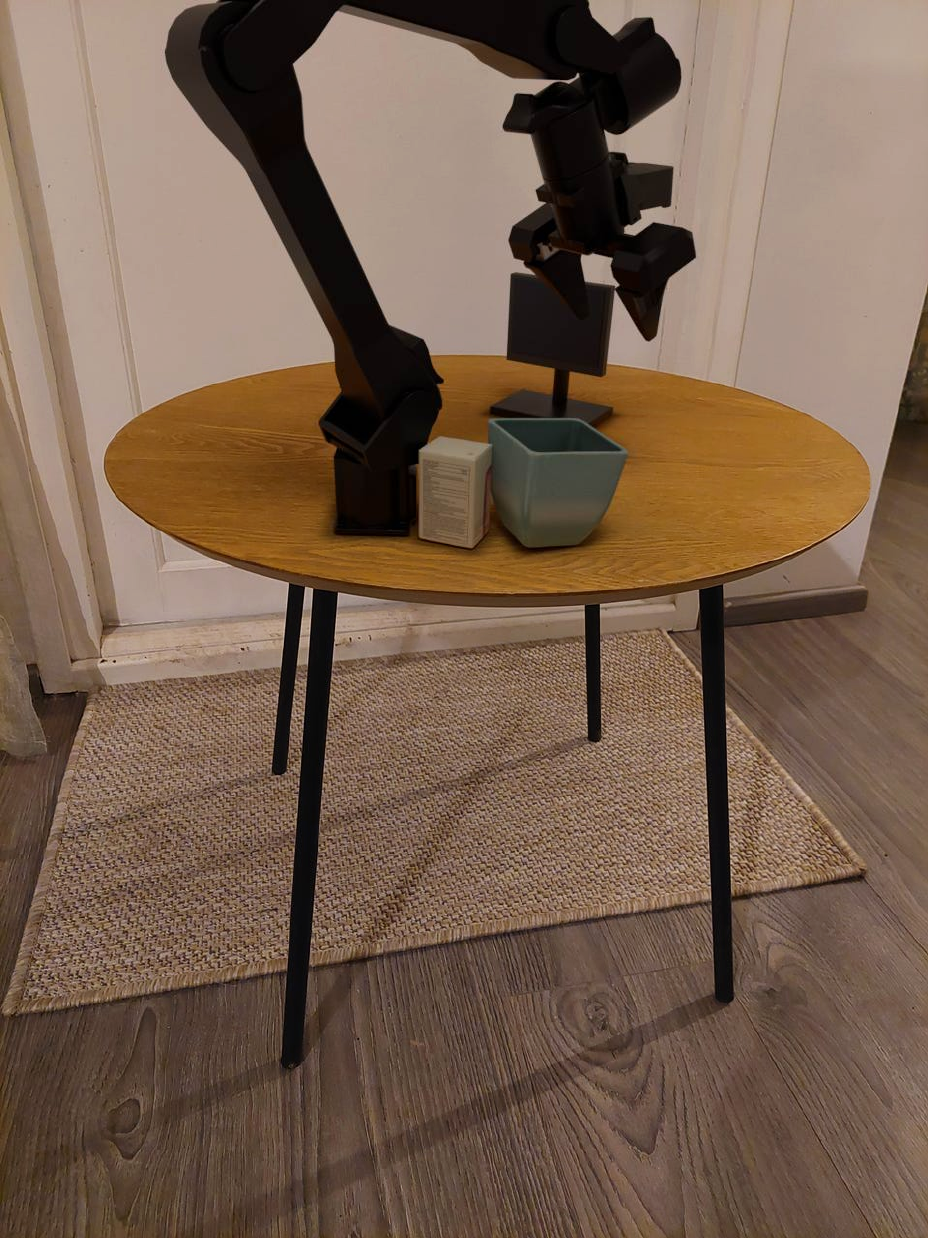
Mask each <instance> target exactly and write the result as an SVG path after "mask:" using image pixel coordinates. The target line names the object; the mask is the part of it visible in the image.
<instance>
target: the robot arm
mask: <svg viewBox="0 0 928 1238" xmlns="http://www.w3.org/2000/svg"><path fill="white" fill-rule="evenodd" d="M337 12H340V13H342V14H347V15H350V16H355V17H358V18H361V19H365V20H369V21H372V22H376V23H378V24H383V25H386V26H391V27H393V28H398V29H401V30H404V31H408V32H412V33H416V34H419V35H423V36H426V37H430V38H433V39H438V40H442V41H445V42H449V43H451V44H455V45H458V46H459V47H461V48H463V49H465V50H466V51H468V52H470V53H471V54H472V55H473V56H474V57H475V58H476V59H477V60H478V61H479V62H481V63H482V64H484V65H486V66H488V67H489V68H491V69H493V70H495V71H497V72H499V73H501V74H503V75H505V76H506V77H508V78H511V79H515V80H516V79H517V80H538V81H539V80H540V81H554V82H552V83H550V84H548V85H547V86H545V88H543V89H541V90H540V91H538V92H536V93H535V94H533V93H522V92H516V93H515V94H514V95H513V100H512V103H511V106H510V109H509V110H508V112H507V113H506V115H505V118H504V120H503V123H502V126H501V127H502V131H504V132H505V133H511V134H512V133H513V134H522V135H530V138H531V142H532V145H533V149H534V152H535V157H536V161H537V163H538V167H539V171H540V173H541V178H542V181H543V184H542V185H540V186H539V187H537V188H536V189H535V190H534V191H535V194H536V197H537V198H536V199H537V201H538V202H540V203H543V204H542V205H541V206H539V207H538V208H536V209H535V210H533V211H532V212H530V213H529V214H528V215H526V216H525V217H523V218H521V219H520V220H519V221H517V222H516V223H515V224H513V225H512V227H511V230H510V232H509V236H508V239H507V241H508V245H509V247H510V251H511V254H512V257H513V259H514V260H519V261H521V262H523V263H522V264H523V265H524V267H525V268H526V269H528V270H530V271H531V272H532V273H533V275H536V276H537V277H538V278H539V279H540V280H541V281H543V282H544V283H545V284H546V285H547V286H548V287H549V288H550V289H551V290H552V291H553V292H554V293H555V294H556V295H557V296H558V297H559V298H560V299H561V301H562V302H563V303H564V304H565V305H566V306H567V307H568V308H569V309H570V310H571V311H572V312H573V313H574V314H575V315H576V316H577V317H578V318H579V319H580V320H585V319H586V318H588V317H589V316H590V308H589V300H588V294H587V289H586V284H585V282H586V280H585V273H584V269H583V266H582V265H583V264H582V256H587V257H588V256H591V255H592V254H593V255H597V256H601V257H606V258H609V259H611V261H610V262H611V263H610V265H609V267H610V271H611V275H612V278H613V279H614V280H615V282H616V283H617V284H618V286H615V294H617V296H618V298H619V300H620V301H621V303H622V305H623V307H624V308H625V310H626V311H627V314H628V315H629V317H630V318H631V320H632V322H633V323H634V325H635V327H636V329H637V330H638V333H640V335H641V336H642V338H643V339H644V341H646V342H651V341H653V340H654V339H655V338H656V337H657V335H658V331H659V326H660V325H659V324H660V319H661V313H662V306H663V302H664V301H663V300H664V297H665V296H664V295H665V292H666V289H667V285H668V282H669V280H670V278H671V277H673V276H674V275H675V274H676V273H679V271H681V270H682V269H683V268H684V267H686V266H687V265H689V264H690V263H692V261H694V260H695V259H697V250H696V245H695V244H696V243H695V240H694V239H695V238H694V233H693V232H692V231H691V230H688V229H687V228H684V227H682V226H677V225H671V224H666V223H660V222H657V221H656V222H655V221H653V222H651V223H650V224H648V225H647V226H646V227H644V228H643V229H642V230H640V231H639V232H637V233H636V234H635V235H634V234H631V233H630V234H629V233H626V230H625V228H626V227H628V226H634V225H635V224H636V223H638V222H639V221H641V220H642V219H643V217H642V213H641V212H642V211H645V210H651V209H655V208H662V209H668V208H670V207H671V206H672V198H673V197H672V196H673V185H674V183H673V182H674V170H675V167H674V166H673V165H666V164H665V165H664V164H658V163H649V162H633V161H632V162H631V161H629V159H628V156H627V154H626V153H625V152H620V151H610V150H609V145H608V141H607V137H606V133H605V132H607V133H608V134H610V135H611V134H612V135H614V136H619V135H623V134H625V133H626V132H627V131H629V130H630V129H632V128H633V127H635V126H636V125H638V124H640V123H641V122H642V121H644V120H645V119H647V118H648V117H650V116H651V115H652V114H654V113H655V112H657V111H658V110H660V109H661V108H662V107H663V106H665V105H666V104H668V103H670V102H671V101H672V100H674V99H675V98H676V96H677V95H678V93H679V92H680V89H681V84H682V67H681V61H680V59H679V58H678V57H677V56H676V53H675V52H674V49H673V48H672V46H671V45H670V43H669V42H668V41H667V39H666V38H664V37H663V36H662V35H661V34H659V33H658V32H657V31H656V28H655V20H654V18H653V17H652V16H647V17H645V16H644V17H634V18H631V20H629V21H628V22H627V23H625V24H624V25H623V26H622V27H621V28H620V29H619V30H618V31H617V32H616V33H613V35H612V33H610V32H609V31H608V30H607V29H606V28H605V27H604V26H603V25H602V24H601V23H600V22H598V20H597V19H595V17H593V15H592V12H591V9H590V1H589V0H217V1H216V2H211V3H201V4H196V5H193V6H190V7H188V8H185V9H183V11H181V12H180V13H179V14H178V15H177V16H176V17H175V18H174V20H173V22H172V24H171V26H170V28H169V29H168V33H167V39H166V40H167V41H166V45H165V49H164V56H165V63H166V67H167V68H168V71H169V75H170V77H171V79H172V81H173V82H174V84H175V85H176V88H177V89H178V90H179V91H180V93H181V94H182V95H183V96H184V98H185V100H186V101H187V102H188V104H189V105H190V106H191V108H192V109H193V110H194V112H195V113H196V114H197V116H198V117H199V119H200V120H201V122H203V124H204V125H205V126H206V127H207V129H208V130H209V131H210V132H211V134H213V135H214V136H215V137H216V139H217V140H218V141H219V142H220V143H221V144H222V145H223V146H224V147H225V148H226V150H227V151H228V152H229V153H230V154H231V155H232V156H233V157H234V158H235V159H236V160H237V162H238V163H239V164H240V165H241V166H242V168H243V169H244V171H245V172H246V174H247V176H248V179H249V180H250V182H251V184H252V186H253V188H254V190H255V192H256V194H257V196H258V197H259V200H260V202H261V204H262V206H263V208H264V209H265V211H266V213H267V215H268V217H269V219H270V221H271V223H272V226H273V228H274V229H275V231H276V233H277V235H278V237H279V239H280V240H281V243H282V245H283V247H284V249H285V250H286V252H287V254H288V256H289V259H290V260H291V262H292V264H293V266H294V268H295V270H296V272H297V274H298V276H299V277H300V280H301V281H302V283H303V286H304V287H305V290H306V291H307V293H308V295H309V297H310V299H311V301H312V303H313V305H314V307H315V309H316V311H317V313H318V315H319V316H320V318H321V320H322V322H323V324H324V327H325V329H326V330H327V332H328V334H329V336H330V338H331V342H332V344H333V353H334V354H333V355H334V357H333V358H334V372H335V375H336V378H337V383H338V385H339V388H340V392H339V393H338V395H337V396H336V397H335V399H334V400H333V401H332V403H331V404H329V406H328V408H327V409H326V410H325V412H324V413H323V414H322V415H321V417H320V418H319V420H318V427H319V429H320V432H321V435H322V436H323V438H324V441H325V442H326V443H327V444H329V445H332V446H334V447H335V448H336V449H335V452H334V455H333V474H334V475H333V479H334V491H335V492H334V494H335V495H334V497H335V513H336V515H335V519H334V522H333V526H332V530H333V533H334V534H347V535H348V534H349V535H351V534H352V535H388V536H389V535H396V536H406V535H409V534H410V533H411V528H412V521H415V520H416V519H417V515H418V509H419V476H418V466H417V465H419V450H420V449H421V448H423V447H424V446H426V445H427V444H429V440H430V436H431V434H432V430H433V427H434V426H435V424H436V422H437V420H438V417H439V413H440V411H441V410H442V409H443V395H442V394H441V388H440V387H439V386H438V385H443V384H444V383H445V380H444V378H443V377H441V375H440V374H438V373H437V370H436V369H435V367H434V364H433V362H432V358H431V357H432V356H431V354H430V353H431V352H430V349H429V347H428V345H427V343H426V341H425V339H424V338H422V337H419V336H417V335H415V334H413V333H410V332H407V331H405V330H403V329H401V328H399V327H397V326H394V325H391V324H389V322H388V320H387V318H386V316H385V314H384V312H383V309H382V307H381V305H380V303H379V301H378V299H377V295H376V294H375V292H374V289H373V287H372V285H371V283H370V280H369V279H368V277H367V274H366V272H365V270H364V267H363V266H362V263H361V261H360V259H359V257H358V255H357V252H356V251H355V249H354V246H353V243H352V242H351V240H350V238H349V235H348V233H347V231H346V228H345V227H344V224H343V222H342V220H341V217H340V215H339V214H338V211H337V208H336V206H335V205H334V202H333V200H332V198H331V196H330V194H329V192H328V190H327V187H326V185H325V183H324V181H323V178H322V176H321V174H320V172H319V170H318V167H317V165H316V163H315V161H314V159H313V156H312V155H311V152H310V150H309V148H308V144H307V141H306V136H305V133H306V132H305V120H304V104H303V94H302V91H301V87H300V84H299V80H298V77H297V73H296V69H295V66H294V64H295V63H296V62H297V61H298V60H299V59H300V58H301V57H303V55H304V54H305V53H306V52H308V50H310V49H311V48H312V47H313V46H314V44H315V43H316V42H317V40H319V38H320V36H321V35H322V33H323V31H324V30H326V27H327V26H328V24H329V23H330V21H331V20H332V19H333V17H334V16H335V14H336V13H337ZM577 75H578V77H577ZM576 77H577V78H576ZM570 80H573V81H571V82H569V83H568V82H565V81H570Z"/></svg>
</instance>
